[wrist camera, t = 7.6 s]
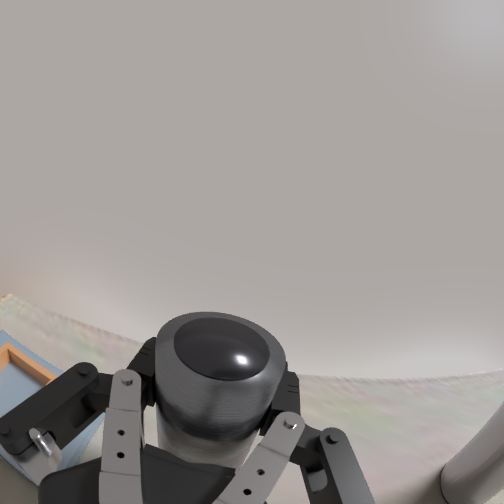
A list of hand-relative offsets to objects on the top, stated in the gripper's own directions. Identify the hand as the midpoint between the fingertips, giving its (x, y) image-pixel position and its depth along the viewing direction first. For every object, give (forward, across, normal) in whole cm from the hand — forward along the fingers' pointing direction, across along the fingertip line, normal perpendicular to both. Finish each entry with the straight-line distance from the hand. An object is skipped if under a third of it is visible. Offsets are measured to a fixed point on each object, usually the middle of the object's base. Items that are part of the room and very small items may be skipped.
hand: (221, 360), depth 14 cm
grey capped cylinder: (-3, 0, +6) cm, 7 cm away
